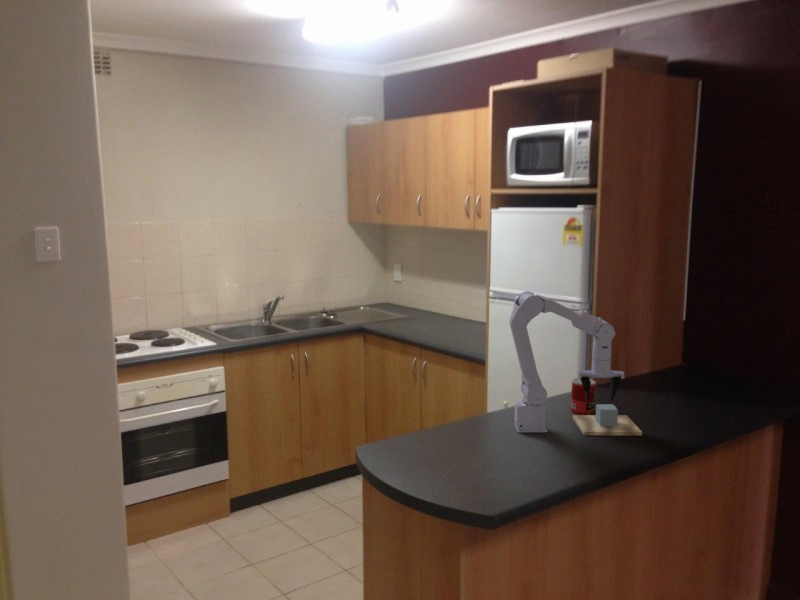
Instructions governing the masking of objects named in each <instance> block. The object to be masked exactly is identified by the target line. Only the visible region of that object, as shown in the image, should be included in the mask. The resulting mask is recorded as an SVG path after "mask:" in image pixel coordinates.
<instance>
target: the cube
mask: <svg viewBox="0 0 800 600" xmlns="http://www.w3.org/2000/svg"><path fill="white" fill-rule="evenodd" d="M595 415H596V420H595V421H596V422H597V423H598V424H599V426H617V422H618V415H619V409H618V408H617V407H616V405H614V404H610V403H609V404H605V403H603V404H599V403H598V404H597V403H595Z"/></svg>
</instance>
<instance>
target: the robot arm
mask: <svg viewBox="0 0 800 600" xmlns="http://www.w3.org/2000/svg"><path fill="white" fill-rule="evenodd" d="M513 303H514V304H513V308H512V312H511V315H510V318H509V325H510V326H509V327H510V331H511V335H512V339H513V343H514V347H515V351H516V355H517V359H518V363H519V367H520V371H521V378H520V379H521V386H520V390H521V392H522V394H523V397H522V398H521V399H522V400H521V401H517V402H515V403H514V423H513V425H514V427H515V429H516V433H548V429H547V428H546V426H545V419H546V417H545V414H546V400H547V398H548V392H547V390H546V388H545V387H544V385H543V384H542V381H541V378H540V376H539V373H538V370H537V365H536V362H535V361H536V360H535V358H534V357H535V355H534V353H533V348H532V345H531V339H530V336H529V332H528V325H529V323H530V322H531V321H532V320H533V319H534V318H536V317H537V316H539V315H540V314H541V313H542V314H547V313H553V314H555V315H558V316H559V317H562V318H565V319H566V320H568V321H570V322H571V324H572V327H573V328H576V329H578V330H580V331H582V332H584V333H587V334H588V335H592V336H593V341H592V355H591V357H592V358H591V359H592V360H591V369H589V370H588V369H587V370H577V373H576V378H580V380H581V382H582V385H583V388H584V391H585V397H586V400H589V399H590V384H591V382H590V379H609V397H608V398H609V400H610V401H614V399H615V396H616V393H617V390H618V388H619V387H620V386H621V384H622V379H625V372H624V371H622V370H611V364H612V362H611V360H612V342H613V341H612V340H613V339H614V338H615V336H616V331H615V328H614V327H613V325H612V324H610V323H609V322H607V321H605V320H604V319H603V318H602V317H600V316H598V317H596V316H594V315H592V314H591V313H590V311H588V310H586V309H584V310H583V309H580V310H577V311H575V310H572V309H571V308H569V307H566V305H565V306H564V305H562V304H560V303H559V302H556V301H555V300H553V299H551V298H548V297H545V296H543V295H540V294H537V293H536V294H535V293H534V292H531V291H527V290H526V291H523V292H521V293H520V294H519V295H518V297H516V299H515V300H514V301H513Z"/></svg>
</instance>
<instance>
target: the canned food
mask: <svg viewBox="0 0 800 600" xmlns="http://www.w3.org/2000/svg"><path fill="white" fill-rule="evenodd" d="M589 379H590V382H591V384H590V399H589V400H586V397H585V391H584V388H583V385H582V382H581V380H580V378H578V377H576V378H573V379H572V381H571V400H570V410H571V412H572V413H573V414H574V415H594V412H595V410H596V392H597V391H596V390H597V389H596V388H597V383H596V381H595V380H593V379H592V378H589Z"/></svg>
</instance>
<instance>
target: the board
mask: <svg viewBox="0 0 800 600" xmlns="http://www.w3.org/2000/svg"><path fill="white" fill-rule="evenodd" d="M572 420H573V421H574V423H575V424H576V426H577V427H578V429H579V430H580V432H581V433H582V435H583V436H639V437H640V436H643V431H642V430H641V429H640V428H639V427H638V426H637V425H636V423H634V421H633V420H631V418H630V417H629V416H628V415H626V414H625V415H624V414H618V422H617V426H599V424H598V423H597V422H596V421H595V420H596V414H591V415H579V414H572Z"/></svg>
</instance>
